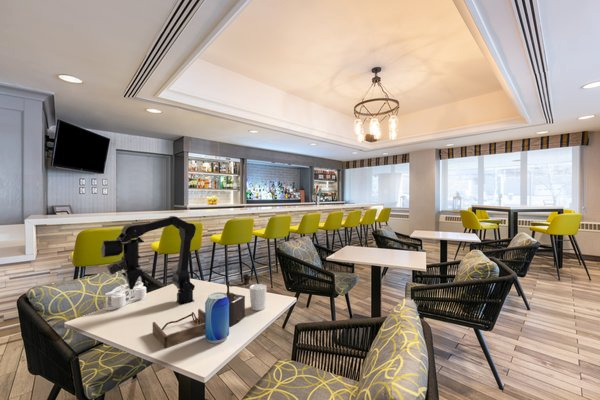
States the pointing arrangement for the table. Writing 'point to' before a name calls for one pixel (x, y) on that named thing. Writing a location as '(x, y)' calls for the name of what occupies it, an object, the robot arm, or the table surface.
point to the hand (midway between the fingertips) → (131, 289)
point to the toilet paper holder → (124, 295)
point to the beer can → (217, 317)
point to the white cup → (258, 296)
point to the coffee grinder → (237, 302)
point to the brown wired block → (180, 333)
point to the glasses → (184, 318)
